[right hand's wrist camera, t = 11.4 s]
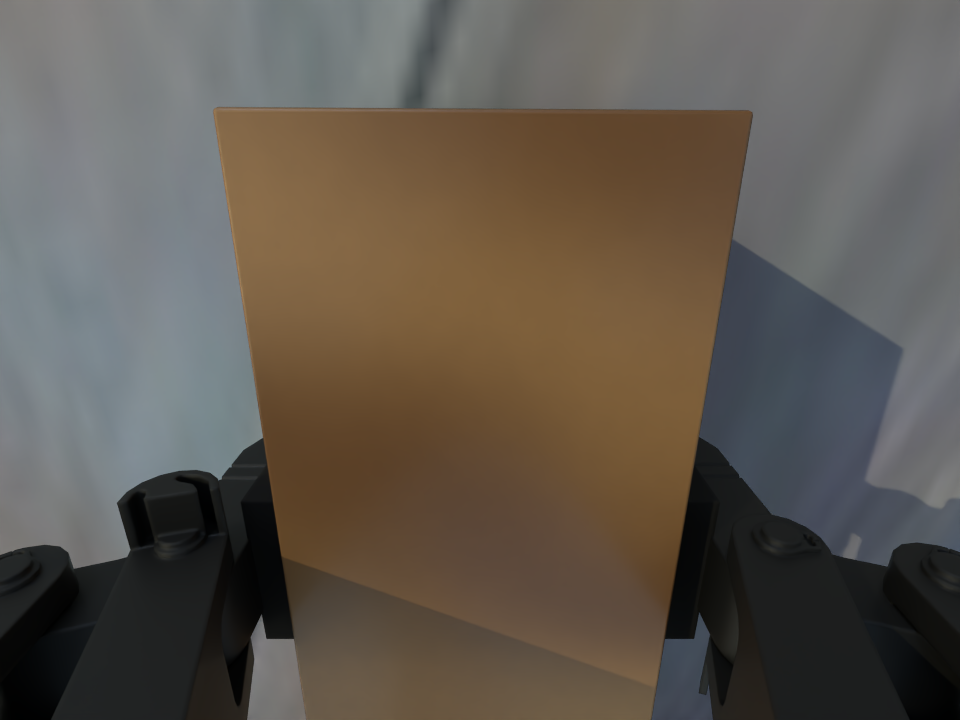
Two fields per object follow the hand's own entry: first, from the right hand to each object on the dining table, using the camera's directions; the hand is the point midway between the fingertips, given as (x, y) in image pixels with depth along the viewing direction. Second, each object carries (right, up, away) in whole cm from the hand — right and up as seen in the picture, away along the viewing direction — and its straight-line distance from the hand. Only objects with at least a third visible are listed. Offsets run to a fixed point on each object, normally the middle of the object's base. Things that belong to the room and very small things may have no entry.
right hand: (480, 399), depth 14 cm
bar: (0, -19, +8) cm, 20 cm away
